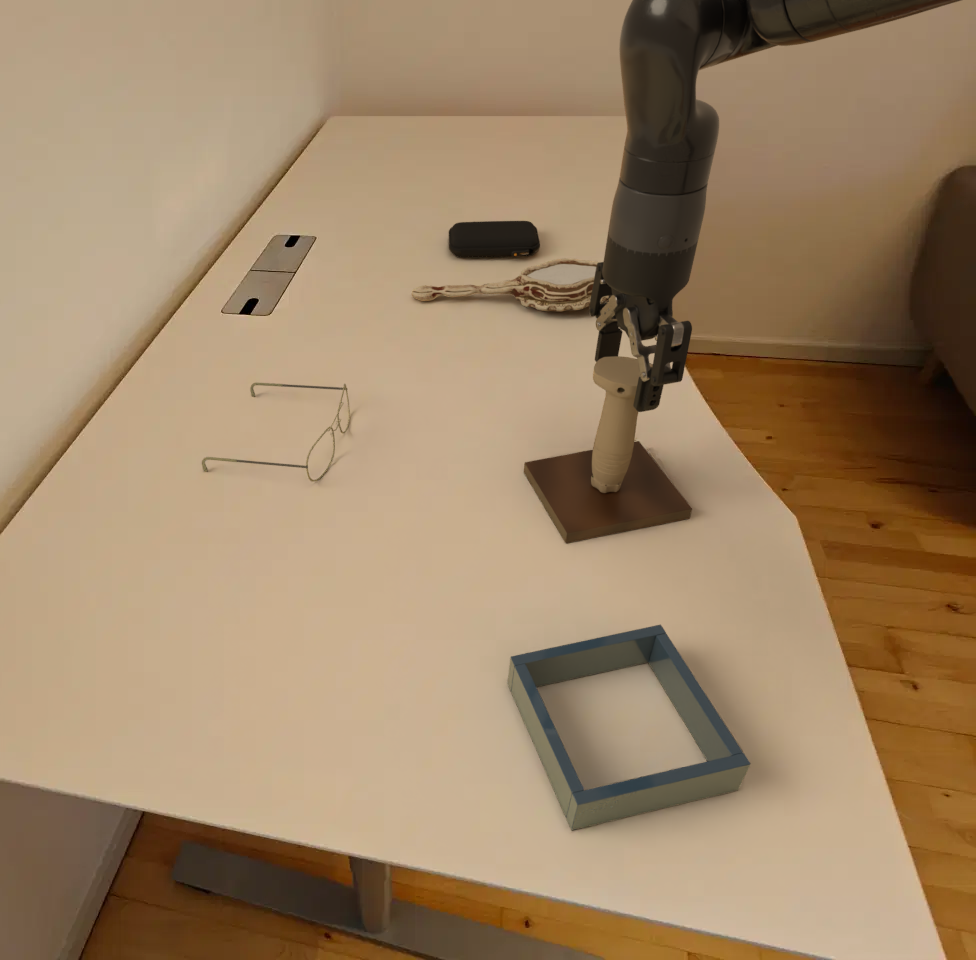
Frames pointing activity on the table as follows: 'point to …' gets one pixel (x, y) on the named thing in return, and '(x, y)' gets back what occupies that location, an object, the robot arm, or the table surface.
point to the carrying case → (493, 239)
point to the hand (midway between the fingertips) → (624, 384)
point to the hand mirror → (533, 286)
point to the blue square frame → (642, 792)
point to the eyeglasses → (314, 443)
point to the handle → (615, 421)
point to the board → (604, 496)
